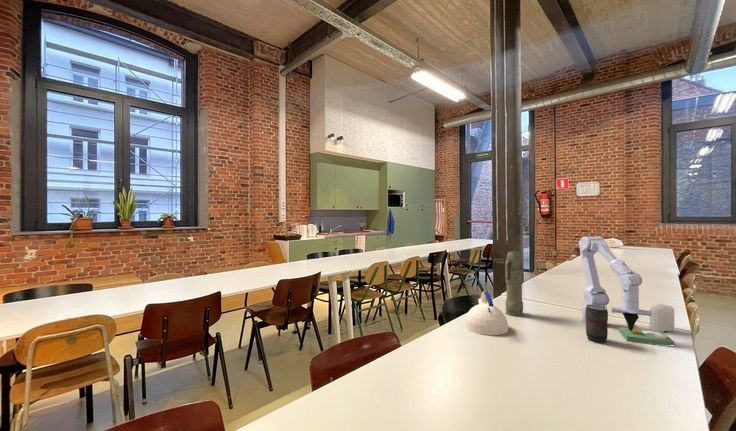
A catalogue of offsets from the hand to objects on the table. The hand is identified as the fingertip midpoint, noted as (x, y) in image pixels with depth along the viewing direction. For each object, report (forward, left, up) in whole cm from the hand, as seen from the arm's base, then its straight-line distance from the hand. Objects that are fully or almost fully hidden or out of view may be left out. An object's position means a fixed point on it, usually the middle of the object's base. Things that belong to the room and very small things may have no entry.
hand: (630, 330), depth 146 cm
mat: (+5, 0, -3) cm, 6 cm away
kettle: (-61, -11, -4) cm, 62 cm away
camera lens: (-15, -10, -4) cm, 18 cm away
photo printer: (+16, +15, -4) cm, 23 cm away
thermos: (-48, +17, -4) cm, 51 cm away
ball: (+1, 0, +1) cm, 2 cm away
